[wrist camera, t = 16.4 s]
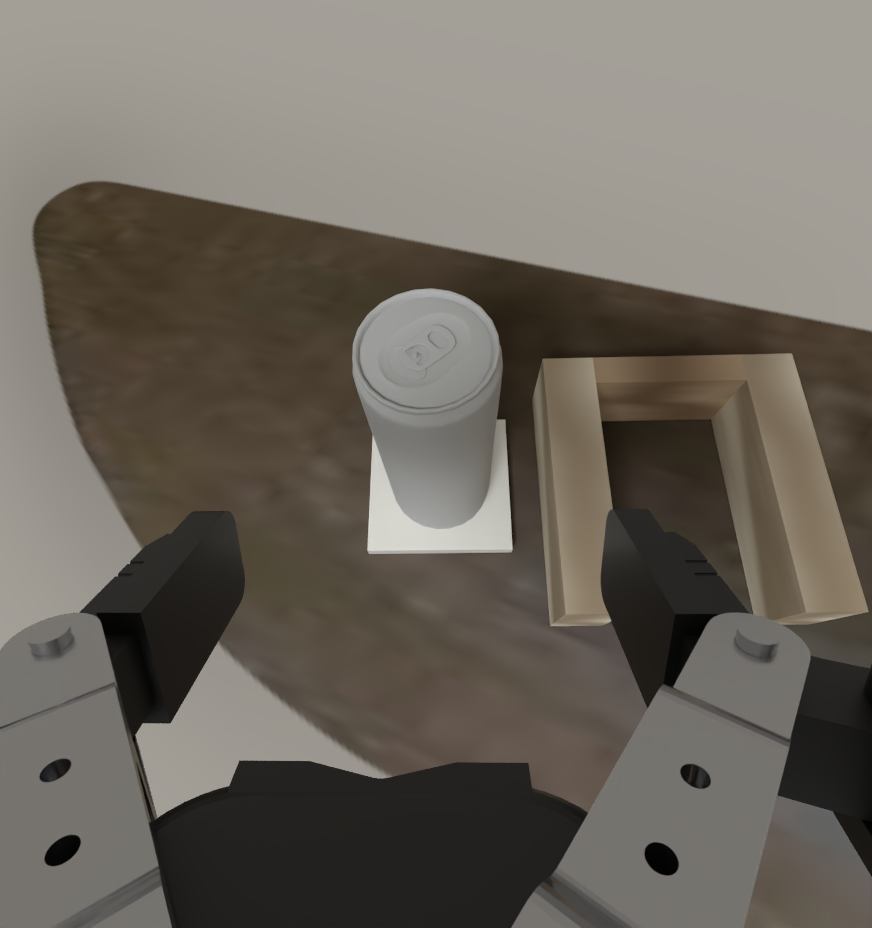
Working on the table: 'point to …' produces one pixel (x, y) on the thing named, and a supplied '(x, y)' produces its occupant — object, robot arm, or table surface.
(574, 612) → the lane rack
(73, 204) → the table surface
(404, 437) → the beverage can
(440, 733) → the table surface
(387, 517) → the tile
